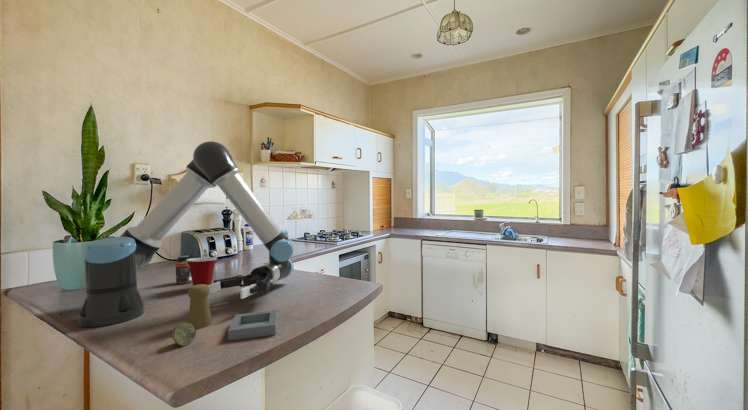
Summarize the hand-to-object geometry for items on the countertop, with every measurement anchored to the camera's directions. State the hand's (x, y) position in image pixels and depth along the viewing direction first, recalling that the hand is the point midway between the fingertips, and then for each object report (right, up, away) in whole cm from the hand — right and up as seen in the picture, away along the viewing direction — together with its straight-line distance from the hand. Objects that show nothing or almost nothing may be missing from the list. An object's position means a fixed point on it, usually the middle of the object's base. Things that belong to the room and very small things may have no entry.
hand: (222, 292), depth 93 cm
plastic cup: (-22, -7, +29) cm, 37 cm away
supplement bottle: (-35, -7, +38) cm, 52 cm away
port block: (+14, -6, -11) cm, 19 cm away
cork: (-2, -7, -8) cm, 11 cm away
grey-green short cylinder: (0, -7, -19) cm, 20 cm away
